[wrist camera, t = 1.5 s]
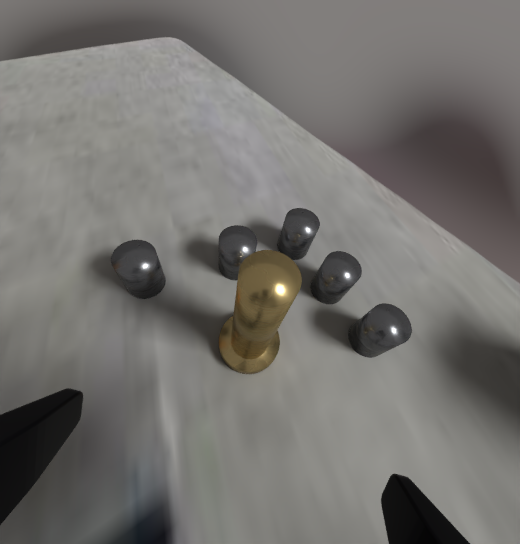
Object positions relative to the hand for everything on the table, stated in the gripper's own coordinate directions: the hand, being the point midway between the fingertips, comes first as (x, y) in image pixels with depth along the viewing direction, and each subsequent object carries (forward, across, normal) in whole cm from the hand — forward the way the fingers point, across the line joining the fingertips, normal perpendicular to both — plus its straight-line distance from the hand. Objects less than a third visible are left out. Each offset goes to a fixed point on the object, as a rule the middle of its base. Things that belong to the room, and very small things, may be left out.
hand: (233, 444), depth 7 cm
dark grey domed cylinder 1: (+19, -6, -1) cm, 20 cm away
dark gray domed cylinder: (+19, +3, -1) cm, 19 cm away
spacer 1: (+16, +10, +2) cm, 19 cm away
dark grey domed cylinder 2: (+16, -10, +2) cm, 19 cm away
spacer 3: (+22, -2, -4) cm, 22 cm away
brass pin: (+14, 0, +4) cm, 14 cm away
